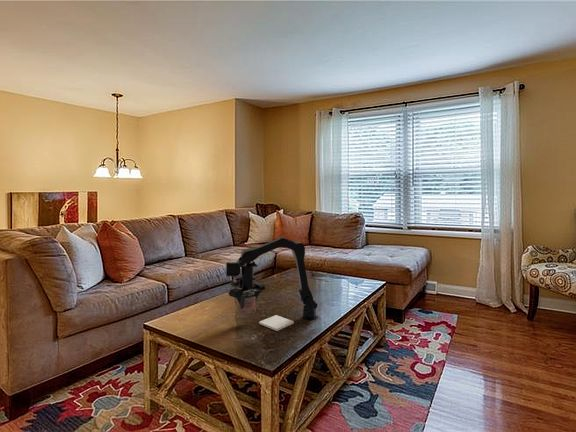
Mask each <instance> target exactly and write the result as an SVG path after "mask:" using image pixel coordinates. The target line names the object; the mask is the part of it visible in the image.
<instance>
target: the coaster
mask: <svg viewBox="0 0 576 432" xmlns="http://www.w3.org/2000/svg"><path fill="white" fill-rule="evenodd" d="M294 322H295V321H293V320H291V319H289V318H285V317H283V316H280V315H278V314H275V315H273V316H269V317H268V318H266V319H265V318H264V319H262V320H260V321H259V322H258V325H261V326H264V327H266V328H269V329H271V330H274V331H276V332H278V331H280V330H283V329H285V328H286V327H289V326H292V325H294V324H295V323H294Z"/></svg>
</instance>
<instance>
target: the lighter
mask: <svg viewBox="0 0 576 432" xmlns="http://www.w3.org/2000/svg"><path fill="white" fill-rule="evenodd" d="M252 295H254V292H250V291H248V292H245V293H243V296H245V300H244V307H243V309H241V307H240V306H239V310H238V311H239V312H238V313H239V314H252V313H256V302H255V298H256V296H252Z"/></svg>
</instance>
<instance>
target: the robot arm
mask: <svg viewBox="0 0 576 432" xmlns="http://www.w3.org/2000/svg"><path fill="white" fill-rule="evenodd" d="M281 247H285V248H288V249H289V250H291V252H292V254H293V255H292V256H293V257H294V260H295V265H296V271H297V276H298V282H299V289H296V293H297V298H298V299H299V300H300V301H301V302H302V304H303V310H302V315H301V316H300V318H301V319H305V320H307V321H309V322H311V321H314V320H315V319H318V318H319V316H318V315H316V311H317V309H318V305H319V304H318V303H317V302H316V301H315V299H314V297H313V294H312V291H311V289H310V287H309V283H308V274H307V271H306V270H307V269H306V264H305V257H306V256H305V255H306V246H305V245H304V244H303V243H302V242H300V241H299V240H295V241H293V240H291V239H288V238H287V237H284V236H280V237H278V238H275V239H274V240H271V241H269V242H266V243H263V244H261V245H259V246H255V247H249V248H245V249H243V250H242V251H241V252H240V256H239V258H238V259H237V260H236V262H235V261H233V262H230V261H227V262H225V263H226V264H225V266H226V267H225V277H226V278H228V277H229V278H231V277H232V278H233V277H238V276H240V275H241V276H240V277H239V278H238V280H237V279H231V281H230V285H231V287H233V288H232V289H231V288H230V290H228V296H229V297H232V298H235V299H236V300H237V302H238V305H239V308H240V307H241V309H243V307H244V300H245V296H243V293H245V292H254V295H252V296H256V298H255V303H256V302H257V300H258V298H259V296H260V294H261V293H263V292H262V291H264V290H266V285H265V284H264V283H262V282H259V281H256V277H254V267H258V264H257V263H256V262H255V260H257V259H258V258H259V257H261V256H262V255H264V254H267V253H269V252H271V251H274V250H276V249H278V248H281ZM254 281H256V282H254Z"/></svg>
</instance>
